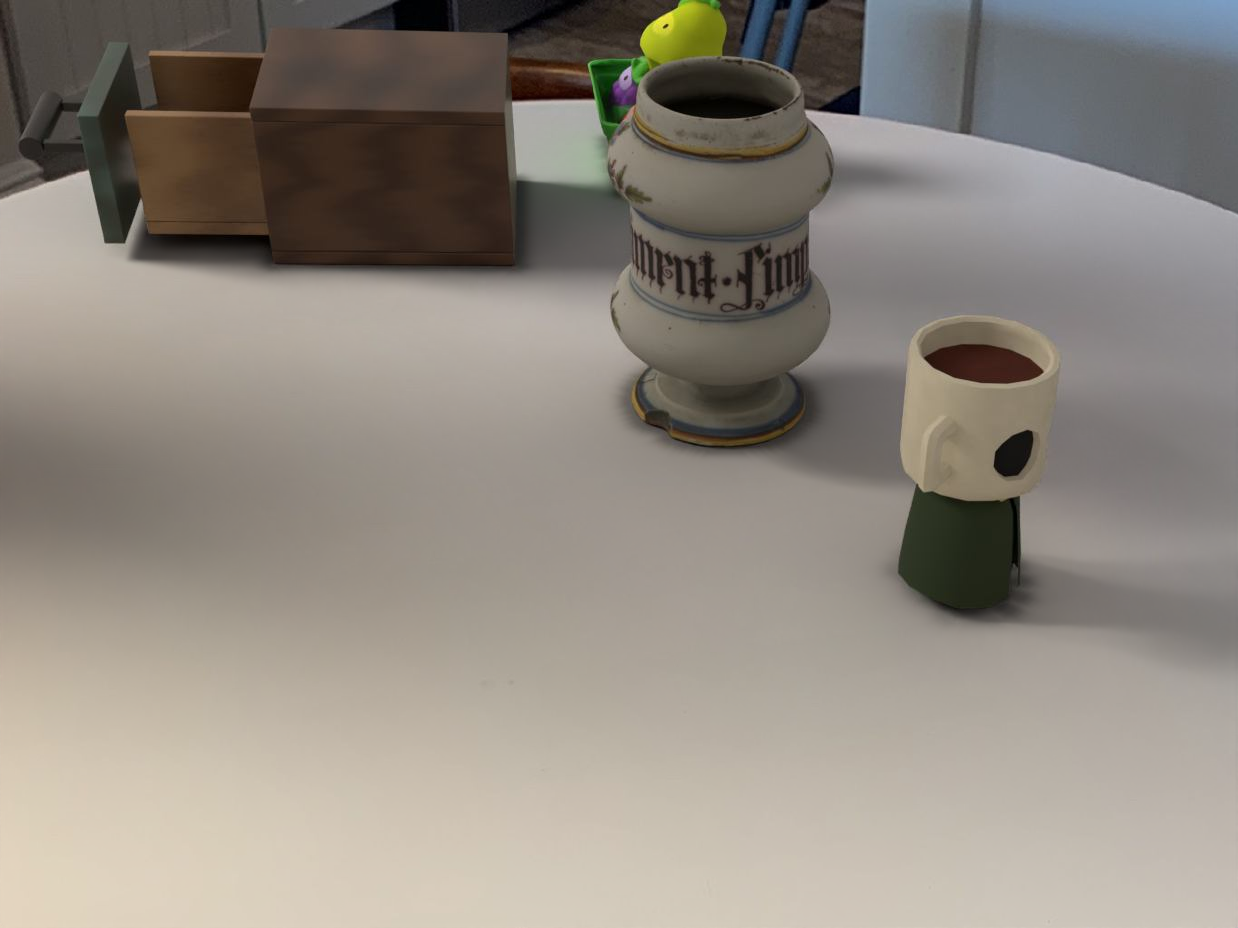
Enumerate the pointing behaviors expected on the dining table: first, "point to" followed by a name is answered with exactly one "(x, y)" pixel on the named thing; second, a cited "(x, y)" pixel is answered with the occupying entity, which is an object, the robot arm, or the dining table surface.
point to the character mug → (973, 452)
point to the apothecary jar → (720, 247)
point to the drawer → (165, 143)
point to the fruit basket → (656, 56)
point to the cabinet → (386, 147)
